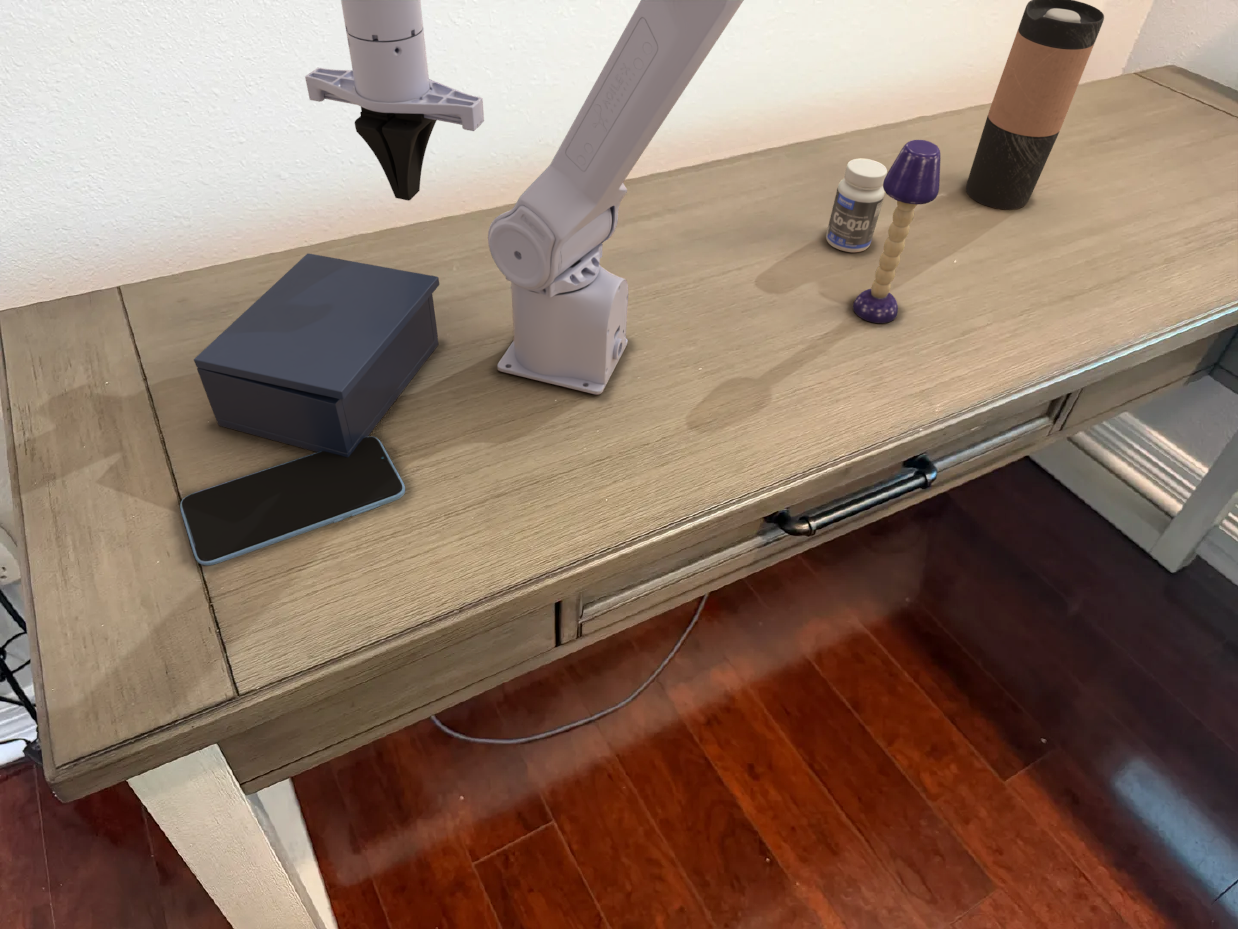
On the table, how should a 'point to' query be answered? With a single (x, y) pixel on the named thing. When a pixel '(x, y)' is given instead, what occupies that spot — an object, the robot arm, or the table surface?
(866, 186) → the pill bottle
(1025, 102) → the travel mug
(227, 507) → the smartphone
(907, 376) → the table surface
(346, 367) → the lid
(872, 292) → the toy lamp
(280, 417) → the box
